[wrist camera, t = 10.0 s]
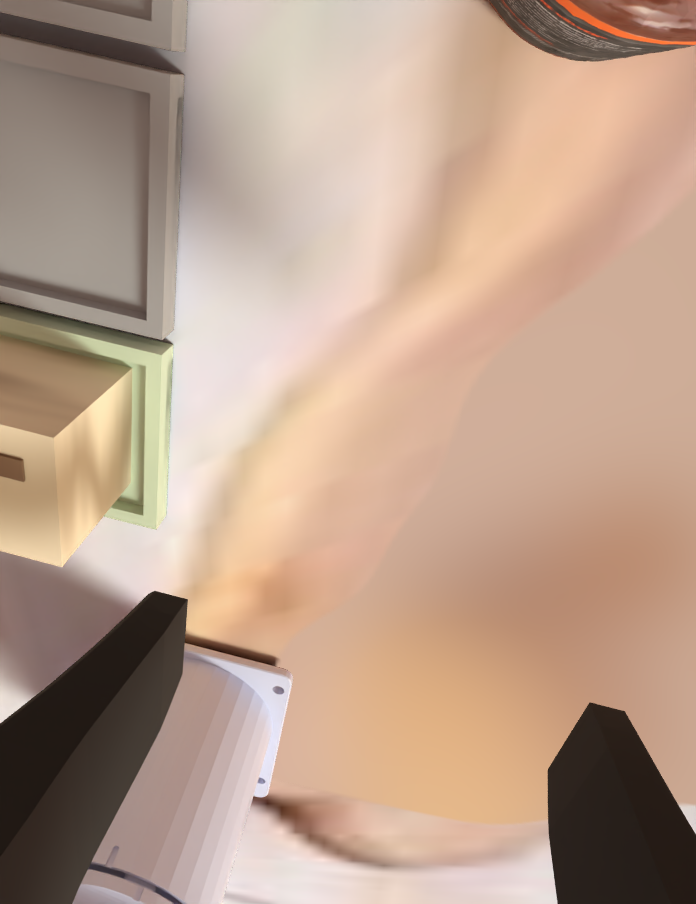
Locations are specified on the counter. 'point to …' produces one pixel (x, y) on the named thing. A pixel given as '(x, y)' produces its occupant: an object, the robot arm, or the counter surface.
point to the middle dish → (89, 186)
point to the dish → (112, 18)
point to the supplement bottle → (601, 26)
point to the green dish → (149, 399)
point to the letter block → (59, 447)
